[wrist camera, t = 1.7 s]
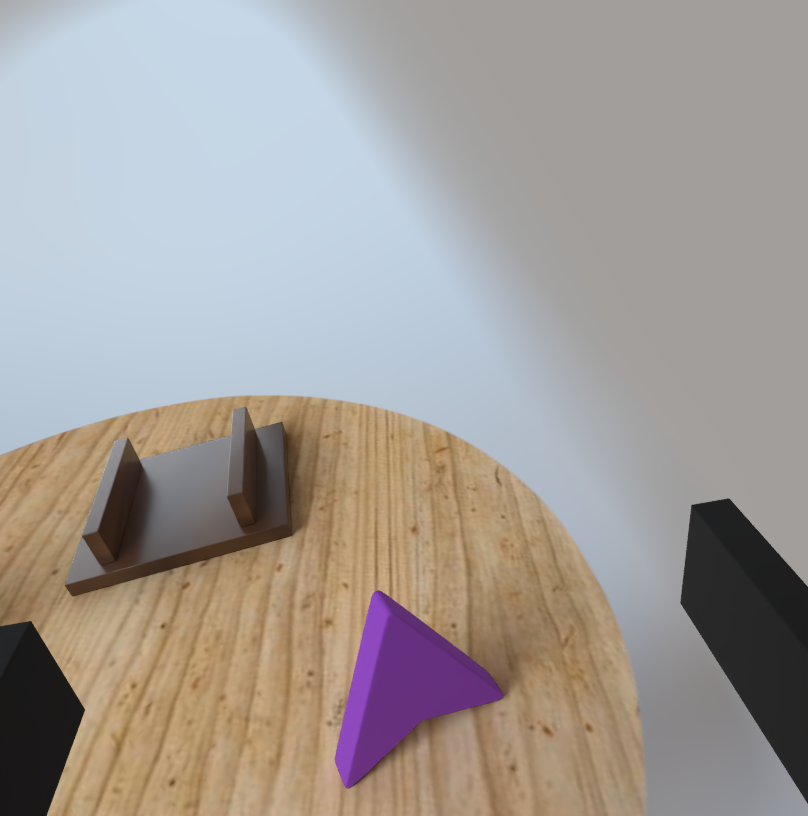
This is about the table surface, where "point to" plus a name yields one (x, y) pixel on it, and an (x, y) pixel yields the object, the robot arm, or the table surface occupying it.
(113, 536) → the rack
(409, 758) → the table surface
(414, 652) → the arrowhead
